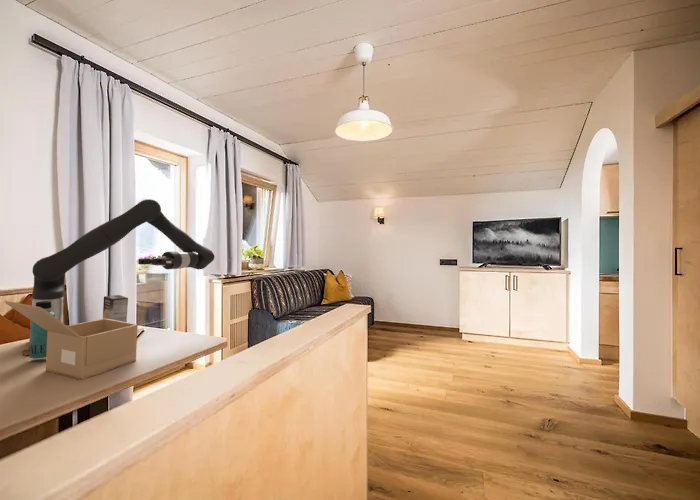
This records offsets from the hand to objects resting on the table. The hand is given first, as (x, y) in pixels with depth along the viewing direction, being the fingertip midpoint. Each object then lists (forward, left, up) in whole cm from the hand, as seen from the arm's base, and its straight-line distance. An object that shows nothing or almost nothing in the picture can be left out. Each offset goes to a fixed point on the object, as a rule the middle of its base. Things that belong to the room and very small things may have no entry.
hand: (139, 261), depth 130 cm
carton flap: (+3, -33, -15) cm, 36 cm away
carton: (+3, -18, -34) cm, 39 cm away
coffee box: (-26, +11, -34) cm, 44 cm away
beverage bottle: (-16, -22, -34) cm, 44 cm away
